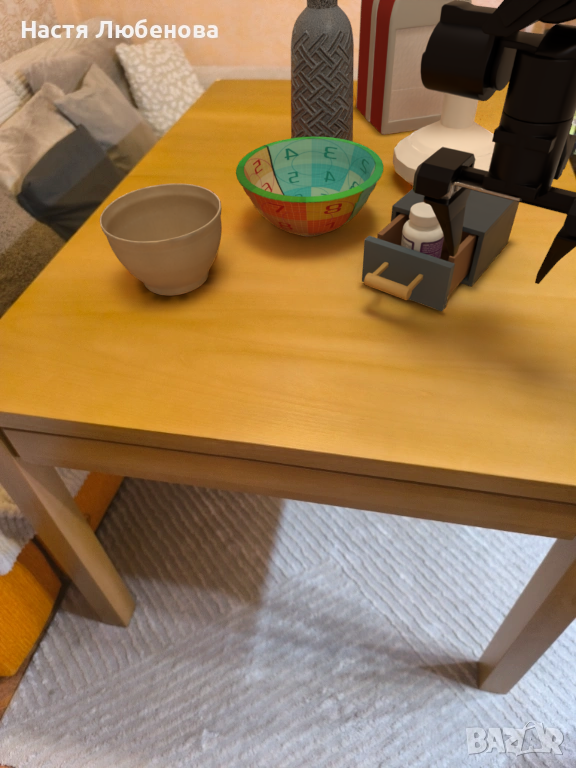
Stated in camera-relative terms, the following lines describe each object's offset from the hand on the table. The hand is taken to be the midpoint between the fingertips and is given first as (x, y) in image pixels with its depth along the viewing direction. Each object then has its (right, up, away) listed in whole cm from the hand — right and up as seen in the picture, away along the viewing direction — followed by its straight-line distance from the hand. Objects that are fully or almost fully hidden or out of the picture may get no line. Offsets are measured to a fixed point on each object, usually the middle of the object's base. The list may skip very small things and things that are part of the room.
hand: (494, 267), depth 56 cm
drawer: (-5, +2, +17) cm, 18 cm away
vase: (-15, +34, +50) cm, 62 cm away
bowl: (-18, +14, +31) cm, 39 cm away
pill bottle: (-4, +3, +17) cm, 18 cm away
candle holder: (+7, +24, +40) cm, 47 cm away
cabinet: (+2, +8, +24) cm, 25 cm away
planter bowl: (-38, +3, +22) cm, 45 cm away
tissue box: (+4, +48, +62) cm, 79 cm away
